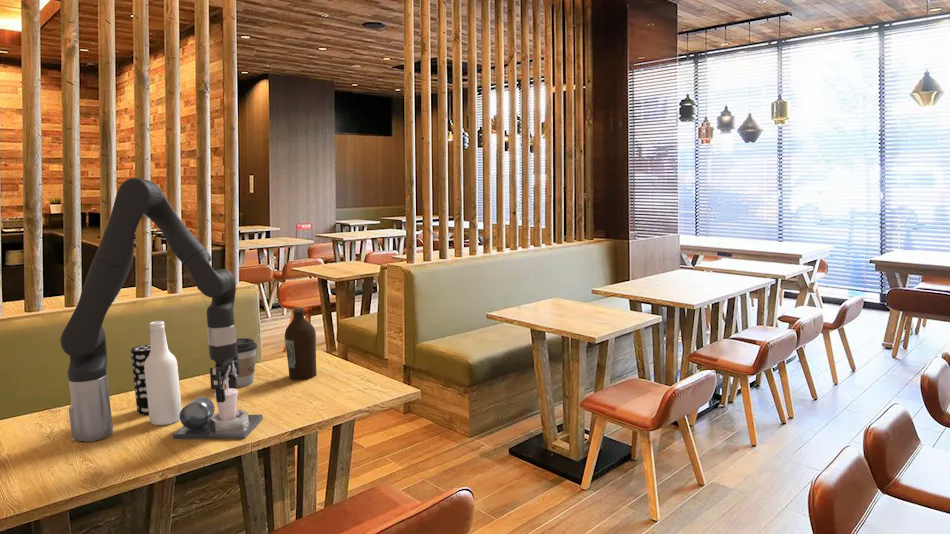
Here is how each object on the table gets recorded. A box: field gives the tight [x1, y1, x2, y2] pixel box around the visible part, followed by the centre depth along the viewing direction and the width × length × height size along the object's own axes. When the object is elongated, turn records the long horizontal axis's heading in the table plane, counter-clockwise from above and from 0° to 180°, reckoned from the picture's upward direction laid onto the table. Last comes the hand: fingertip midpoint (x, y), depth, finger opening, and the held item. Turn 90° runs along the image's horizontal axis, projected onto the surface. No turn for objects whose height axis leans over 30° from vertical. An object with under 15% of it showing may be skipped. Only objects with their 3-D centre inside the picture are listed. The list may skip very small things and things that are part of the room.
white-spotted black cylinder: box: [130, 344, 151, 416], centre depth 204 cm, size 8×8×20 cm
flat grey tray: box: [172, 396, 264, 440], centre depth 188 cm, size 20×14×8 cm
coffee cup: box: [235, 337, 258, 388], centre depth 229 cm, size 11×11×15 cm
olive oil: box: [284, 306, 317, 381], centre depth 234 cm, size 11×11×25 cm
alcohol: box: [144, 320, 183, 426], centre depth 194 cm, size 9×9×30 cm
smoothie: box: [213, 379, 239, 421], centre depth 187 cm, size 6×6×14 cm
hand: (227, 396), depth 187 cm, fingers open, 8 cm apart
